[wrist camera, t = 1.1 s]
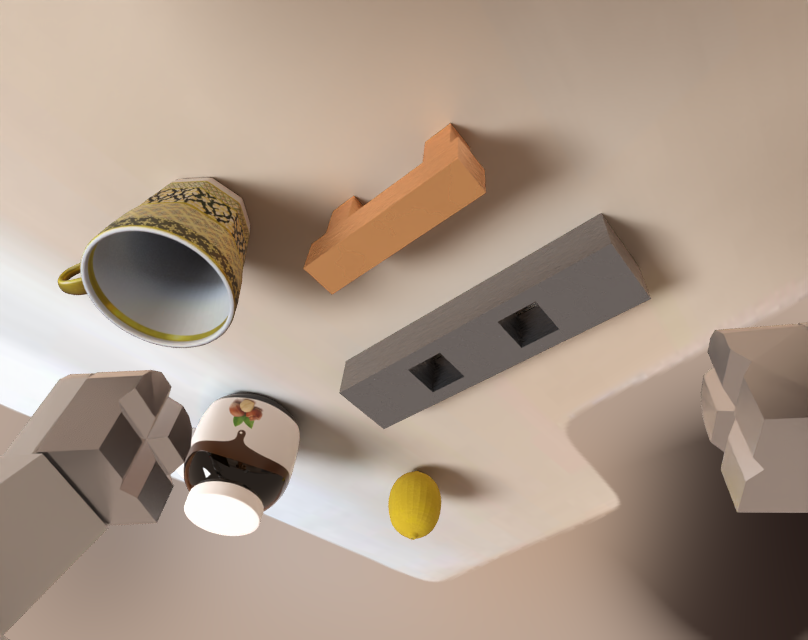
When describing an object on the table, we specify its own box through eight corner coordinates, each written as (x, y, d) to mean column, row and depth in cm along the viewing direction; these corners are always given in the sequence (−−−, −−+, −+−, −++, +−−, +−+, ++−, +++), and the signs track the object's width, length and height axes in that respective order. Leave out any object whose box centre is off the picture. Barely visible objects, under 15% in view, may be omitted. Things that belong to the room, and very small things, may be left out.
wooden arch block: (346, 239, 47) (332, 294, 42) (321, 214, 46) (303, 268, 41) (483, 142, 41) (485, 192, 36) (458, 111, 40) (457, 158, 35)
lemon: (382, 472, 67) (374, 538, 61) (412, 449, 64) (406, 517, 58) (421, 492, 69) (417, 558, 63) (452, 470, 66) (451, 538, 60)
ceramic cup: (252, 149, 43) (207, 223, 35) (284, 264, 49) (251, 347, 42) (84, 160, 45) (6, 233, 37) (135, 269, 51) (78, 351, 43)
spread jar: (313, 410, 61) (288, 512, 52) (281, 467, 68) (254, 566, 59) (198, 369, 59) (150, 469, 50) (176, 433, 66) (131, 531, 57)
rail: (388, 397, 59) (383, 429, 56) (346, 361, 56) (339, 393, 53) (638, 266, 47) (650, 298, 44) (601, 213, 44) (611, 243, 41)
